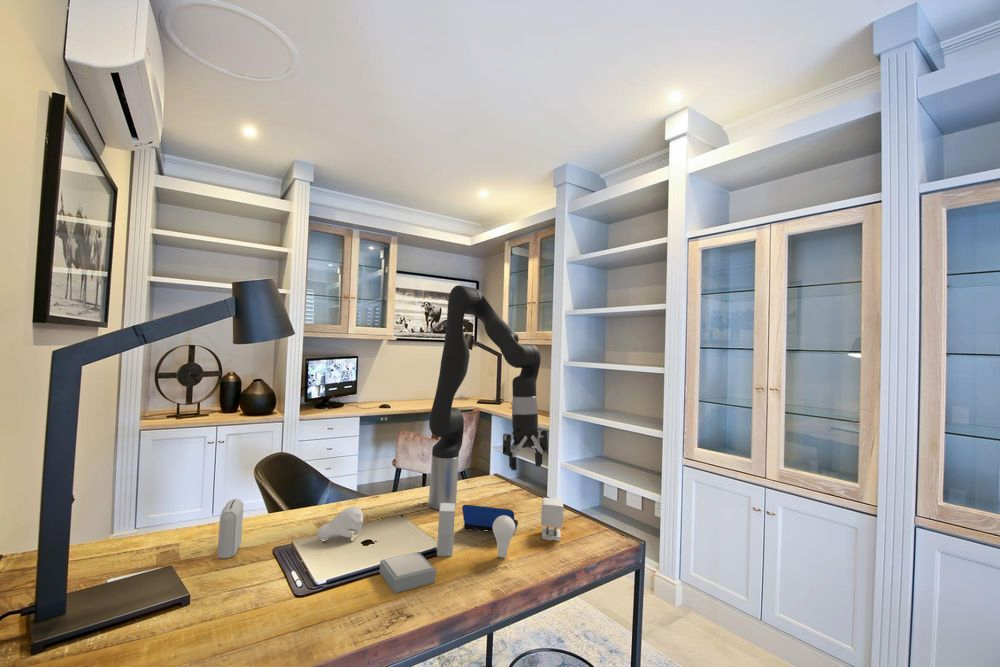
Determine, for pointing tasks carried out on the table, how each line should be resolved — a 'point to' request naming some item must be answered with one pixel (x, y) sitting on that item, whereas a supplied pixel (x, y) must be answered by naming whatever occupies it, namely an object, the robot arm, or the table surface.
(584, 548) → the table surface
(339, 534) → the white rounded figure
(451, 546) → the skincare box
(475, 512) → the handheld game console
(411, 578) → the plinth
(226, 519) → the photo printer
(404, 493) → the table surface
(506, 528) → the lightbulb
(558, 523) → the white block on posts
